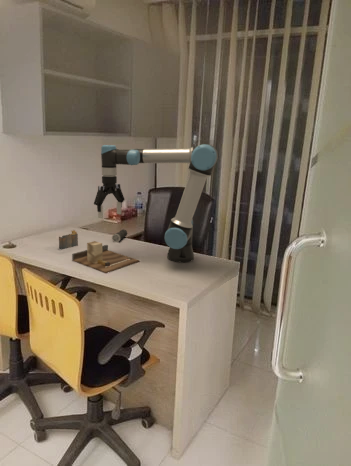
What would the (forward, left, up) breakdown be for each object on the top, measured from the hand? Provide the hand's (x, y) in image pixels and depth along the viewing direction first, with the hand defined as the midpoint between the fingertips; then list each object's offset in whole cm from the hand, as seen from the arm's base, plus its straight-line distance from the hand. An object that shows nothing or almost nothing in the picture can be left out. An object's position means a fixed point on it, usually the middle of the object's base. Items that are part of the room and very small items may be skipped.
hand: (110, 216), depth 193 cm
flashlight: (+23, -30, -24) cm, 45 cm away
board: (-2, +5, -24) cm, 24 cm away
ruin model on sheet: (+32, +3, -24) cm, 40 cm away
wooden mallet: (-4, +11, -23) cm, 25 cm away
